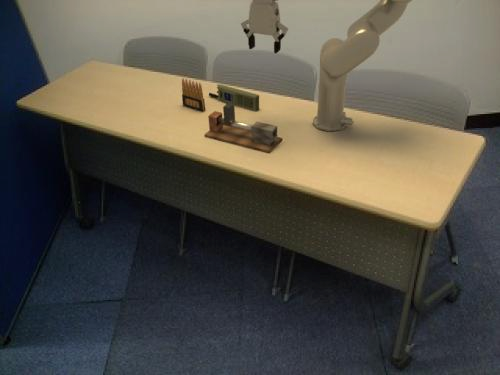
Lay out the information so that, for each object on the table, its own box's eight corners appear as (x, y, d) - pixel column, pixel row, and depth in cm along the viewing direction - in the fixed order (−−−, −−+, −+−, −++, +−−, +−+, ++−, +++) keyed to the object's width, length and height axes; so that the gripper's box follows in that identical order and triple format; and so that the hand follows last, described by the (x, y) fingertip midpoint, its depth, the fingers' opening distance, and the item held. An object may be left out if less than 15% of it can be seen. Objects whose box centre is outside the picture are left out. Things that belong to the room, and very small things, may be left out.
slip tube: (264, 131, 168) (263, 110, 163) (259, 136, 166) (259, 114, 161) (217, 120, 176) (215, 99, 171) (212, 124, 174) (210, 103, 169)
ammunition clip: (205, 110, 192) (203, 82, 185) (202, 112, 191) (200, 83, 184) (185, 104, 197) (182, 76, 190) (182, 105, 196) (179, 78, 189)
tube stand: (282, 140, 170) (282, 122, 166) (269, 153, 163) (269, 135, 159) (219, 125, 181) (217, 107, 177) (204, 136, 174) (203, 119, 170)
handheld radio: (255, 112, 189) (206, 98, 201) (260, 109, 192) (211, 95, 204) (255, 97, 186) (206, 83, 198) (260, 94, 188) (211, 80, 200)
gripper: (292, -2, 154) (291, 50, 164) (246, -7, 161) (247, 43, 171) (282, 3, 149) (282, 57, 159) (235, -2, 156) (237, 49, 166)
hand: (264, 50), depth 165 cm, fingers open, 9 cm apart
